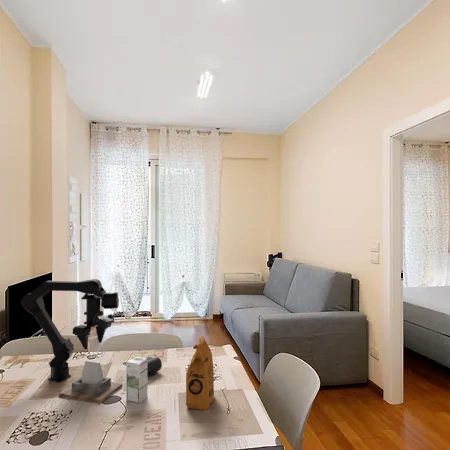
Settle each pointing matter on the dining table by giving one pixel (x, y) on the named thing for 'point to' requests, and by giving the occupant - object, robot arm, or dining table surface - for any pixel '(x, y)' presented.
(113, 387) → the dock
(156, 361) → the end cap
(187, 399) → the coffee package
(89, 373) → the tea bag
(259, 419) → the dining table surface
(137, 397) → the syrup box
